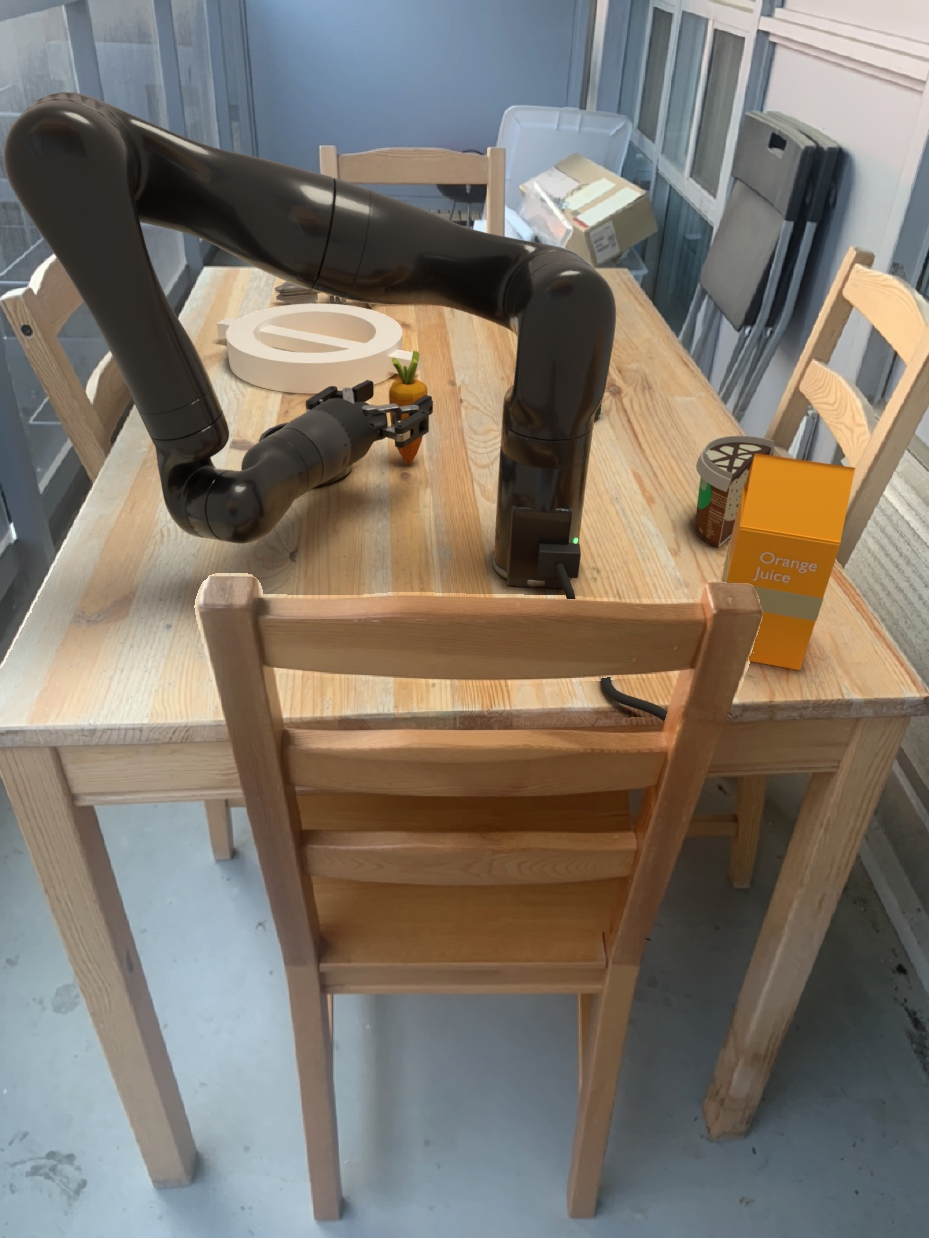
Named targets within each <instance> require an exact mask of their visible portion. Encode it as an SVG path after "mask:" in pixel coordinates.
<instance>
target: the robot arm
mask: <svg viewBox="0 0 929 1238" xmlns="http://www.w3.org/2000/svg"><path fill="white" fill-rule="evenodd" d="M3 166H4V171H5V175H6V179H7V181H8V184H9V186H10V189H11V190H12V192H13V194H14V196H15V197H16V199H17V200H18V202H19V203H20V205H21V206H22V208H23V210H24V211H25V213H26V214H27V215H28V217H29V219H30V221H31V222H32V223H33V225H34V226H35V228H36V229H37V230H38V232H39V234H40V235H41V237H42V238H43V239H44V241H45V243H46V244H47V246H48V248H50V250H51V252H52V253H53V254H54V256H55V258H56V259H57V260H58V262H59V263H60V265H61V266H62V268H63V269H64V272H66V274H67V276H68V278H69V280H71V282H72V284H73V286H74V287H75V289H76V290H77V292H78V294H79V296H80V297H81V299H82V301H83V302H84V304H85V306H86V308H87V309H88V311H89V313H90V315H91V316H92V318H93V320H94V322H95V324H96V326H97V328H98V330H99V332H100V333H101V336H102V337H103V340H104V341H105V344H106V345H107V348H108V350H109V351H110V354H111V356H112V358H113V360H114V362H115V365H116V366H117V369H118V370H119V373H120V375H121V377H122V379H123V382H124V384H125V386H126V388H127V391H128V392H129V394H130V397H131V399H132V401H133V403H134V405H135V409H136V410H137V413H138V414H139V416H140V418H141V420H142V422H143V425H144V427H145V429H146V432H147V433H148V435H149V438H150V440H151V441H152V444H153V445H154V448H155V454H156V462H157V469H158V474H159V481H160V485H161V491H162V496H163V497H162V498H163V501H164V504H165V507H166V510H167V512H168V514H169V516H170V517H171V519H172V520H173V521H174V523H175V524H176V525H177V526H178V527H179V528H180V529H181V530H182V531H183V532H184V533H186V534H188V535H190V536H193V537H196V538H201V539H209V540H214V541H220V542H226V543H231V544H249V543H253V542H256V541H259V540H261V539H262V538H264V537H266V536H267V535H269V534H270V533H271V532H272V531H273V530H274V529H275V528H276V527H277V525H278V524H279V523H280V521H281V520H282V518H283V517H284V516H285V514H286V513H287V512H288V511H289V510H290V508H291V506H292V505H293V504H294V502H295V500H297V499H299V498H300V497H302V496H303V495H305V494H306V493H308V492H309V491H311V490H312V489H314V488H315V487H318V486H317V485H319V484H322V483H324V482H326V481H328V480H330V479H331V478H333V477H334V476H336V475H337V474H339V473H340V472H342V471H343V470H345V469H346V468H348V467H349V466H351V465H352V464H353V465H354V464H356V463H357V462H358V461H360V460H362V459H363V458H364V457H365V456H366V455H367V454H368V452H369V451H370V450H371V447H372V445H374V443H375V442H378V441H382V440H385V439H386V438H388V439H390V440H394V447H395V448H396V449H398V448H403V447H405V446H407V445H408V444H410V443H412V442H413V441H415V440H416V439H418V438H420V437H421V436H425V435H426V434H428V433H429V432H430V416H431V415H432V414H433V413H434V401H433V396H431V395H428V394H427V395H425V396H423V397H422V398H420V399H418V400H417V401H415V402H414V403H412V404H411V405H408V406H401V407H399V406H398V405H397V404H395V403H393V404H389V403H388V404H381V405H375V404H370V403H367V402H368V401H370V400H371V399H372V398H373V397H374V394H375V391H374V390H375V388H374V385H375V384H373V381H370V380H366V381H364V382H362V383H360V384H358V385H356V386H354V387H352V388H348V387H347V388H343V389H342V391H339V390H337V387H336V386H329V387H327V388H326V389H324V390H322V391H321V392H319V393H318V394H313V396H311V397H310V398H308V399H307V400H305V412H304V413H302V414H300V415H299V416H297V417H295V418H293V419H292V420H290V421H288V422H289V423H288V424H286V425H285V426H284V427H283V428H282V429H280V430H279V431H277V432H275V433H273V434H272V435H270V436H268V437H266V438H265V439H263V440H261V441H260V442H259V441H258V442H257V443H255V444H254V445H252V446H251V447H250V448H248V450H247V451H246V452H245V454H244V455H243V457H242V461H241V464H240V470H234V469H227V468H226V469H225V468H217V467H216V466H215V465H214V462H213V461H212V457H214V456H216V455H218V453H221V451H222V450H223V449H224V448H225V447H226V445H227V444H228V441H229V438H230V428H229V425H228V421H227V418H226V415H225V412H224V411H223V408H222V405H221V403H220V400H219V398H218V395H217V393H216V390H215V387H214V385H213V383H212V381H211V378H210V376H209V373H208V371H207V368H206V367H205V364H204V362H203V359H202V358H201V356H200V354H199V351H198V349H197V348H196V346H195V344H194V342H193V340H192V339H191V337H190V336H189V334H188V332H187V331H186V329H185V327H184V326H183V324H182V322H181V321H180V319H179V317H178V316H177V314H176V312H175V311H174V309H173V307H172V304H171V303H170V301H169V300H168V298H167V296H166V293H165V291H164V289H163V287H162V284H161V282H160V281H159V278H158V276H157V273H156V271H155V267H154V265H153V262H152V260H151V257H150V254H149V250H148V247H147V243H146V240H145V236H144V232H143V228H142V224H147V225H151V226H154V227H155V226H156V227H160V228H165V229H168V230H173V231H177V232H180V233H184V234H187V235H190V236H193V237H195V238H198V239H200V240H203V241H204V242H207V243H210V244H212V245H214V246H215V247H217V248H219V249H221V250H223V251H224V252H227V253H228V254H231V255H232V256H234V257H235V258H238V259H240V260H241V261H243V262H245V263H247V264H249V265H250V266H252V267H255V268H257V269H258V270H261V271H262V272H265V273H267V274H269V275H271V276H272V277H274V278H277V279H278V280H279V279H280V280H282V281H284V282H289V283H292V284H295V285H298V286H300V287H304V288H307V289H311V290H314V291H318V292H322V293H321V294H325V295H326V294H329V295H333V296H334V297H335V296H336V297H340V299H342V298H344V299H346V301H347V300H348V301H351V302H356V303H364V304H368V305H369V304H372V305H379V306H380V305H381V306H437V307H438V306H439V307H444V308H449V309H454V310H457V311H459V312H460V311H461V312H463V313H466V314H470V315H472V316H476V317H478V318H481V319H484V320H486V321H489V322H491V323H493V324H496V325H499V326H501V327H503V328H505V329H507V330H509V331H511V332H512V333H513V334H514V335H515V336H516V337H517V340H516V341H517V342H516V353H515V365H514V377H513V385H511V386H510V387H509V388H508V389H507V390H506V391H505V393H504V396H503V400H502V401H503V402H502V415H501V418H502V419H501V433H500V434H501V435H500V447H499V463H498V480H497V494H496V495H497V496H496V509H495V511H496V513H495V526H494V527H495V528H494V529H495V531H494V545H493V547H494V549H493V552H492V566H493V568H494V570H495V571H496V573H497V574H499V576H500V577H502V578H504V579H505V580H506V584H507V586H511V587H532V588H551V589H552V588H555V589H562V590H563V592H564V594H565V599H566V598H567V599H576V594H575V591H574V588H573V586H572V583H571V581H570V579H578V578H579V572H580V565H581V564H580V563H581V557H582V552H581V551H582V550H581V544H580V536H581V528H582V519H583V511H584V503H585V495H586V486H587V478H588V471H589V463H590V455H591V449H592V441H593V440H592V439H593V432H594V424H595V419H596V418H595V413H596V411H597V409H598V408H599V406H600V404H601V402H602V403H603V399H604V398H605V397H604V396H605V393H606V389H607V383H608V376H609V371H610V366H611V359H612V354H613V347H614V340H615V333H616V325H617V324H616V323H617V305H616V298H615V295H614V292H613V290H612V287H611V286H610V284H609V282H608V281H607V280H606V278H604V277H603V276H602V274H600V272H598V271H597V270H596V269H595V268H594V267H593V266H591V264H589V263H588V262H587V261H586V260H585V259H584V258H582V257H581V256H580V255H578V254H577V253H576V252H575V251H571V250H570V249H567V248H564V247H562V246H557V245H553V244H548V243H547V244H546V243H540V242H535V241H530V240H525V239H519V238H514V237H509V236H505V235H499V234H494V233H489V232H485V231H481V230H477V229H474V228H470V227H467V226H464V225H461V224H458V223H456V222H454V221H452V220H450V219H447V218H445V217H443V216H440V215H439V214H438V215H437V214H436V213H434V212H431V211H428V210H426V209H424V208H421V207H418V206H416V205H413V204H412V203H411V204H410V203H408V202H406V201H403V200H400V199H397V198H395V197H392V196H389V195H386V194H385V193H381V192H379V191H376V190H374V189H370V188H367V187H365V186H362V185H358V184H355V183H352V182H349V181H346V180H342V179H340V178H336V177H332V176H330V175H326V174H322V173H319V172H315V171H312V170H308V169H304V168H300V167H297V166H294V165H289V164H285V163H282V162H277V161H273V160H270V159H266V158H262V157H257V156H253V155H249V154H244V153H239V152H235V151H230V150H226V149H222V148H218V147H214V146H211V145H209V144H205V143H202V142H200V141H199V142H198V141H196V140H194V139H191V138H188V137H186V136H184V135H181V134H179V133H176V132H174V131H171V130H169V129H167V128H164V127H162V126H160V125H157V124H155V123H152V122H149V121H147V120H145V119H144V118H140V117H138V116H136V115H134V114H132V113H130V112H127V111H125V110H122V109H121V108H118V107H116V106H114V105H112V104H109V103H107V102H105V101H103V100H100V99H98V98H97V97H94V96H91V95H88V94H83V93H79V92H71V91H60V92H55V93H49V94H47V95H44V96H42V97H41V98H38V99H36V101H34V102H33V103H32V104H30V105H29V106H28V107H27V109H25V110H24V111H23V112H22V113H21V114H20V115H19V116H18V117H17V118H16V120H14V122H13V123H12V125H11V127H10V129H9V131H8V133H7V135H6V138H5V142H4V147H3ZM141 223H142V224H141ZM601 405H602V404H601ZM390 412H392V425H391V424H390V426H389V423H388V421H389V420H388V414H390ZM408 413H409V417H408V418H406V419H405V420H403V421H401V416H402V415H403V414H408ZM594 418H595V419H594ZM567 599H566V600H567ZM576 600H577V599H576ZM611 679H612V676H611V677H607V678H601V677H600V684H601V687H602V689H603V691H604V693H605V694H606V695H607V696H608V697H609V698H610V699H611V700H614V701H615V702H617V703H618V704H621V705H624V706H627V707H629V708H633V709H636V710H639V711H642V712H645V713H648V714H650V715H653V716H654V717H656V718H658V719H659V720H661V721H662V722H664V720H665V718H666V714H667V711H668V710H666V709H665V708H663V707H661V706H659V705H658V704H655V703H653V702H650V701H649V700H648V701H647V700H644V699H641V698H638V697H635V696H632V695H628V694H626V693H624V692H621V691H619V689H616V687H614V685H613V683H612V680H611ZM644 939H645V940H646V941H649V942H651V941H652V939H651V938H649V937H648V938H647V939H646V938H645V937H644Z"/></svg>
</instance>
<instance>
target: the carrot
mask: <svg viewBox="0 0 929 1238" xmlns="http://www.w3.org/2000/svg"><path fill="white" fill-rule="evenodd" d="M412 352H413V355H412V361H411V363H410V365H409V368H408V370H407V366H405V365H404V366H403V369H404V372H403V369H402V366H401V364H400V363H399V361H398V360H397V359H396V358H395V357H394V358H392V361H393V365H394V367H395V368H396V370H397V372H398V376H399V377H400V379H396V380H394V381H393V382H392V383H391V385H390V388H389V391H388V400H389V401H388V404H393V403H395V404H397V405H398V406H399V407H401V406H408V405H411V404H412V403H414V402H415V401H417V400H418V399H420V398H422V397H423V396H425V395H428V386H427V385H426V384H425V382H423V381H421V380H419V379H417V378H415V376H416V373H417V372H416V369H417V365H418V360H419V354H420V355H421V353H420V352H419V351H418V350H417V349H416V350H413V351H412ZM389 417H390V426H391V425H392V412H390V413H389ZM408 417H409V413H408V414H403V415H402V416H401V421H403V420H405V419H406V418H408ZM423 436H424V435H423ZM423 436H421V437H420V438H418V439H416V440H415V441H413V442H412V443H410V444H408V445H407V446H405V447H403V448H397V451H398V453H399V455H400V456H401V458H402V460H403V462H405V463H406V464H407V465H411V464H412V463H413V462H414V460H415V458H416V456H417V454H418V451H419V449H420V446H421V444H422V441H423Z"/></svg>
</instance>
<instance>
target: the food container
mask: <svg viewBox="0 0 929 1238" xmlns="http://www.w3.org/2000/svg"><path fill="white" fill-rule="evenodd" d="M775 444H776V441H775V440H772V439H769V438H765V437H761V436H760V437H759V436H753V435H727V436H721V437H718V438H715V439H713V440H711V441H710V442H708V443H707V444H706V446H705V447H704V448H703V449H702V451H701V453H700V455H699V457H698V459H697V461H696V465H695V468H696V472H697V474H698V475H699V476H700V479H699V486H698V493H697V502H696V503H697V504H696V511H695V519H694V531H695V533H696V535H698V537H699V538H700V539H701V540H702V541H704V542H705V543H707V544H709V545H710V546H713V547H715V548H716V549H719V548H720V547H722V546H723V545H724V544H725V543H726V542H727V541H729V540H730V539H731V536H732V532H733V527H734V523H735V519H736V515H737V511H738V506H739V502H740V498H741V494H742V490H743V488H744V485H745V482H746V479H747V476H748V473H749V470H750V467H751V464H752V461H753V458H754V455H755V453H757V454H764V455H771V456H774V452H775V447H776V446H775Z"/></svg>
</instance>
